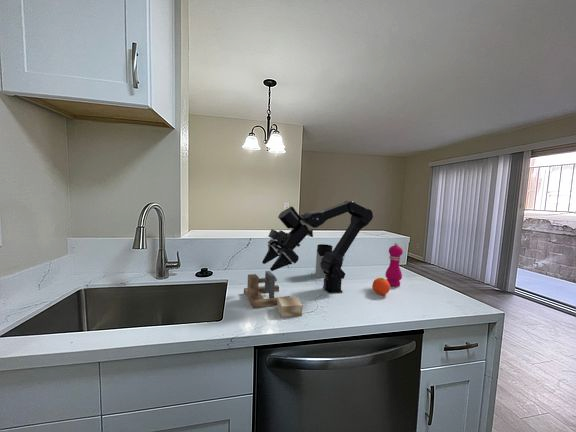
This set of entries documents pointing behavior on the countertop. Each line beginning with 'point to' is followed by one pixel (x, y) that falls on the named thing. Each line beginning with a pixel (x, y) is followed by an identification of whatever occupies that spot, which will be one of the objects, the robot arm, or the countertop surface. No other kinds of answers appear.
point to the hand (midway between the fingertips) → (266, 266)
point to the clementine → (381, 286)
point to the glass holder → (320, 254)
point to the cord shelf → (254, 292)
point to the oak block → (289, 306)
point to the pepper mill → (394, 266)
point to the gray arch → (270, 284)
